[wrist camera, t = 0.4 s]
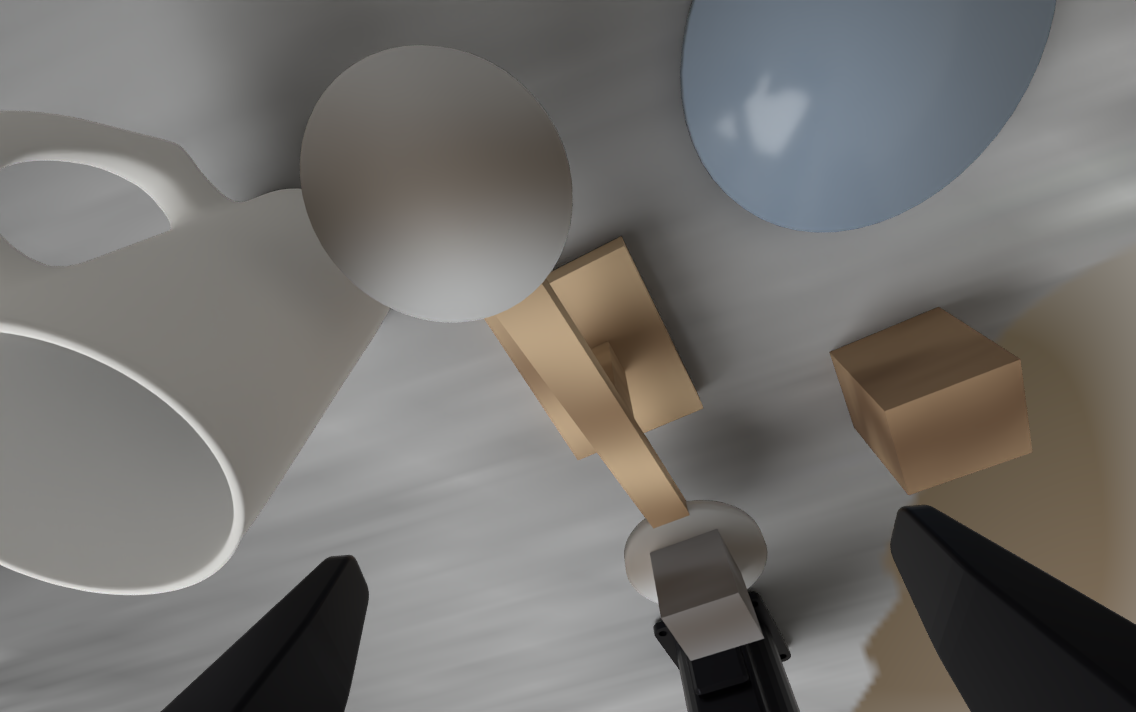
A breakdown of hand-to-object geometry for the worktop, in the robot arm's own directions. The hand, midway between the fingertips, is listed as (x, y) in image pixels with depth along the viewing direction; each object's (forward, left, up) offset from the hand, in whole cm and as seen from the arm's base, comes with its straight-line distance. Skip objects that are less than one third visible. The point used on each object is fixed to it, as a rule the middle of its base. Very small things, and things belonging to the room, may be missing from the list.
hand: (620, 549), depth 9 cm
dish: (+3, -11, -14) cm, 18 cm away
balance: (-3, +1, -14) cm, 14 cm away
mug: (+7, +9, -14) cm, 18 cm away
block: (-10, -10, -14) cm, 20 cm away
